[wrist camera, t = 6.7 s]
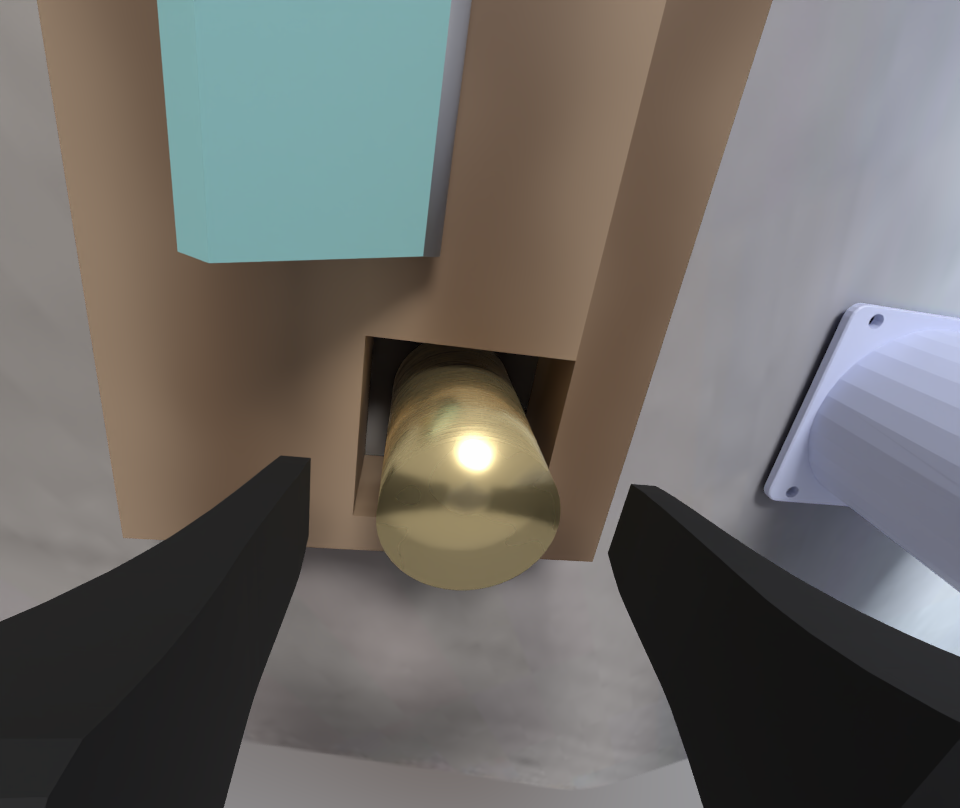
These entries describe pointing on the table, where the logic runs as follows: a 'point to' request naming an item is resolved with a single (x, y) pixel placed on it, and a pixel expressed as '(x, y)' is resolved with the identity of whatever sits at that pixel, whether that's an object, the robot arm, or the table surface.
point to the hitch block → (404, 258)
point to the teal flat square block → (311, 125)
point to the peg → (462, 473)
